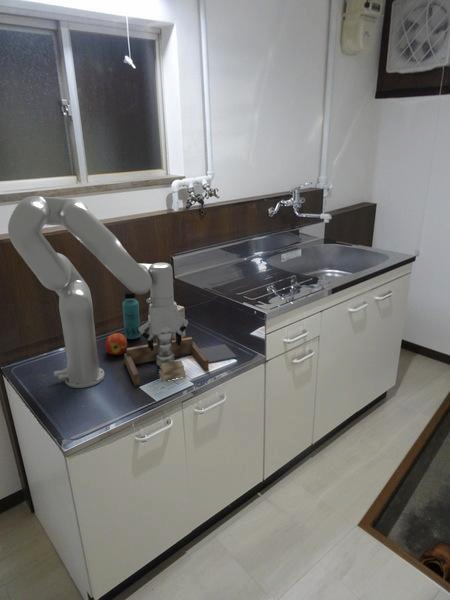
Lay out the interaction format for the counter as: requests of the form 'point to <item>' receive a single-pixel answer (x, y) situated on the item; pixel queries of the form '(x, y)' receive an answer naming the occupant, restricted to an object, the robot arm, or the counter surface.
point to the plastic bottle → (164, 347)
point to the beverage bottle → (131, 316)
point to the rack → (146, 355)
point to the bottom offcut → (171, 376)
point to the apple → (116, 344)
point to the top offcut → (172, 367)
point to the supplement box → (182, 315)
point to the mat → (218, 353)
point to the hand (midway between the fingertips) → (165, 346)
